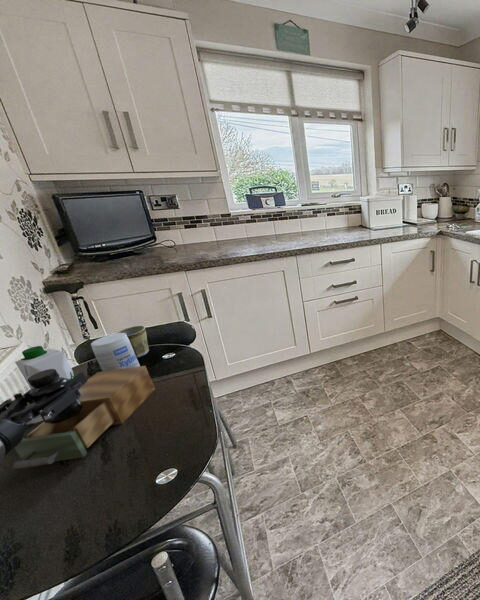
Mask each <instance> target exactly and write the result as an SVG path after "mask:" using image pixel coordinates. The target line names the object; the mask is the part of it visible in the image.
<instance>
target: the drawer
mask: <svg viewBox="0 0 480 600" xmlns="http://www.w3.org/2000/svg"><path fill="white" fill-rule="evenodd" d="M82 405H83V408H82V410H81V411H80V412H79V413H78V414H76V415H75V416H73V417H72V418H70V419H67V420H65V421H62V422H59V423H54V424H50V423H45V422H44V421H42V422H41V423H40V424H39V425H38V426H36V427H35V428H34V429H33V430H31V431H30V432H29V433H27V434H26V437H23V438H22V440H21V442H20V443H19V444H18V445H17V446H16V447H15V448H14V450H15V451H16V453H17V454H18V456H19V457H20V459H21V460H18V461H15V463H14V464H13V469H14V470H19V469H20V470H21V469H27V468H33V467H39V466H45V465H52V464H53V463H54V462H60V461H61V462H62V461H67V460H73V459H81V458H84V457H86V455H87V454H88V452H87V450H86V449H88V448H89V447H91V446H92V445H93V443H95V441H97V439H99V438H100V437H101V435H102V434H104V432H105V431H106V430H108V428H109V427H110V425H111V424H112V423H113V422H114V421H115V420H116V418H115V416H114V414H113V412H112V410H111V408H110V406H109V404H108V402H107V401H102V402H95V403H87V404H82ZM111 426H112V425H111Z"/></svg>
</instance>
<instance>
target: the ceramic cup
mask: <svg viewBox="0 0 480 600" xmlns="http://www.w3.org/2000/svg"><path fill="white" fill-rule="evenodd" d="M116 333H125V334H126V335H127V337H128V339H129V341H130V343H131V346H132V348H133V350H134V353H135V355H136V358H137V359H138V358H140V357H143V356H145V355H147V354H148V353H149V351H150V347H149V343H148V342H149V341H148V338H147V337H148V336H147V330H146V327H145V326H144V325H136V326H135V325H133V326H130V327H127V328H123V329H121V330H118V331H117V332H115V333H114V334H116Z"/></svg>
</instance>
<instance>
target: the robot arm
mask: <svg viewBox="0 0 480 600" xmlns="http://www.w3.org/2000/svg"><path fill="white" fill-rule="evenodd" d="M87 380H88V379H87V377H86V375H85V373H84V371H83V372H82V371H81V372H79V373H77V374H75V377H74V378H73V379H71V380H70V381H69V382H68V383H67V384H65V385H64V386H63V387H62V390H61V391H59V392H57V393H55V394H54V395H52V396H50V397H49V398H47V399H45V400H43V401H42V402H40V403H38V404H37V405H35V404H34V402H33V400H32V399H31V397H30V395H29V393H30V390H31V389H29V390H28V391H26V392H25V393H24V394H22V392H19V393H16V394H14V395H13V397H14V399H13V400H12V399H9V398H8V399H6V400H4V401H3V402H1V404H0V461H1V460H2V459H3V458H4V457H5V456H7V455H8V454H10V452H12V451H13V450H15V447H16V446H17V445H18V444H19V443H20V442H21V440H22V439H23V438H24V434H25V432H27V430H29V429H30V428H33V427H34V426H35V425H36V423H40V422H45V423H49V422H51V421H52V420H53V419H54V418H55V417H56V415H58V414H59V413H60V412H61V411H63V410H64V409H65V408H66V407H68V406H69V405H70V404H71V403H73V402H74V401H75V400H76V399H78V398H79V397H80V396H81V394H80V392H79V389H80V388H81V387H82V386H83V385H84V384H85V383H86V382H87ZM28 404H29V406H28Z"/></svg>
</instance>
